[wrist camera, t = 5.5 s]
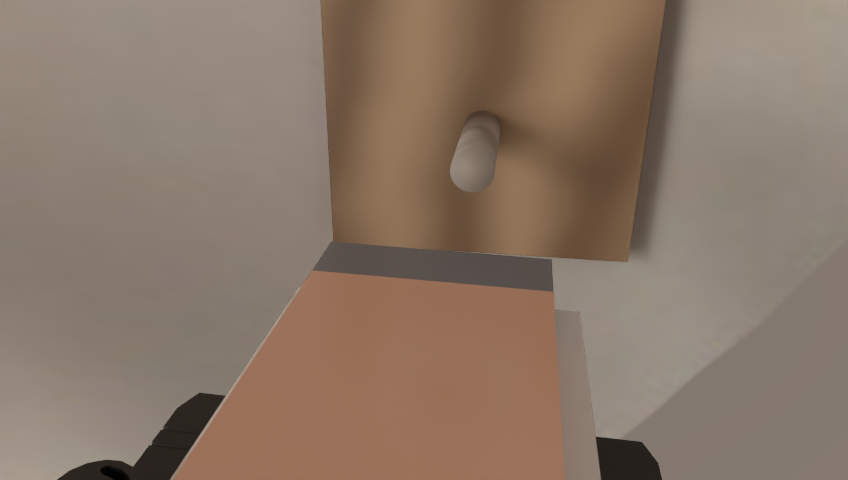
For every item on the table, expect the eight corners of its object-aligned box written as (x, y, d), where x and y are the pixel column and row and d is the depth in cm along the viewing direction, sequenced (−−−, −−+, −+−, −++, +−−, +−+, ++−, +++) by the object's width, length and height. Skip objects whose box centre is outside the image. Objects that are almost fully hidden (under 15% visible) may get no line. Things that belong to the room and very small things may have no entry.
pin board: (341, 230, 34) (295, 303, 27) (315, -308, 25) (237, -400, 18) (623, 248, 32) (649, 330, 26) (704, -323, 23) (777, -430, 17)
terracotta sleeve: (338, 416, 17) (201, 751, 10) (331, 241, 15) (156, 506, 8) (531, 438, 17) (531, 811, 10) (551, 259, 15) (570, 563, 8)
